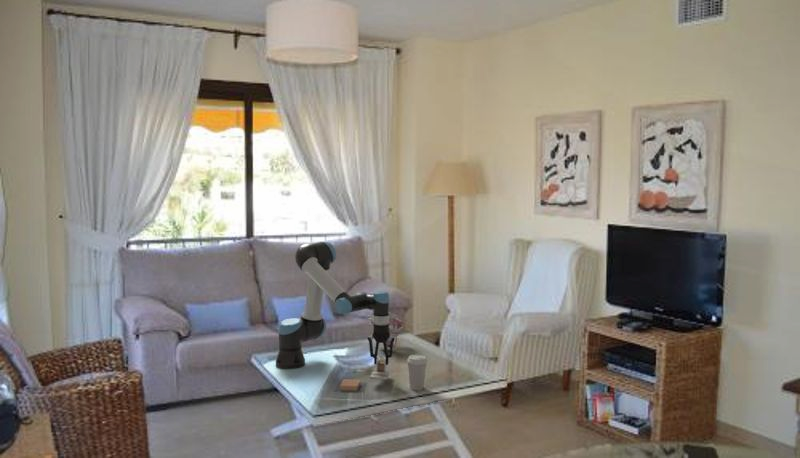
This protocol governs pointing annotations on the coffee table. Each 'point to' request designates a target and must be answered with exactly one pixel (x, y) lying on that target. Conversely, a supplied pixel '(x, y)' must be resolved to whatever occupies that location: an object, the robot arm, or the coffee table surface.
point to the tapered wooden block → (380, 371)
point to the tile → (350, 385)
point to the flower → (392, 328)
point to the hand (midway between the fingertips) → (381, 370)
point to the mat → (360, 389)
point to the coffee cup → (417, 371)
